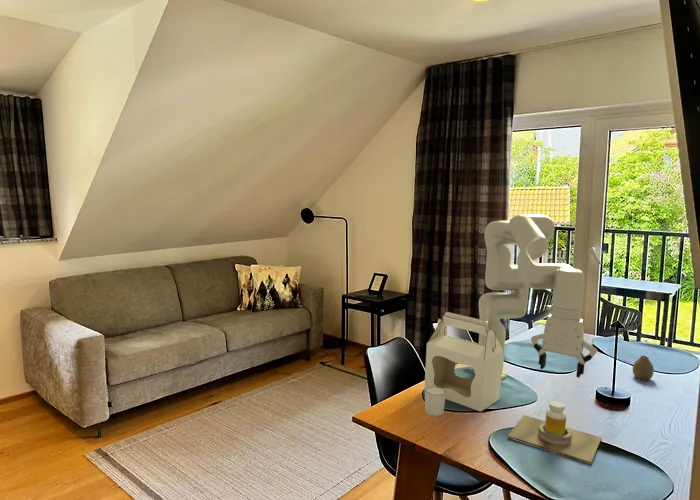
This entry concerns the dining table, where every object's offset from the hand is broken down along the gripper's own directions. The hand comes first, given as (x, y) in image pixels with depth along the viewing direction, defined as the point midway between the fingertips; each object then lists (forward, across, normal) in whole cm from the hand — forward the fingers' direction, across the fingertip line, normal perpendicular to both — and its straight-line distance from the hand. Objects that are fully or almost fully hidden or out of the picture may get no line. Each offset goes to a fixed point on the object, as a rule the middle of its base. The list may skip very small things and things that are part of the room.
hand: (560, 371), depth 140 cm
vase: (+21, +16, +69) cm, 74 cm away
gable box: (+21, -33, +11) cm, 40 cm away
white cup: (+20, -35, -6) cm, 41 cm away
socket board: (+20, 0, 0) cm, 20 cm away
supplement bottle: (+20, 0, 0) cm, 20 cm away
